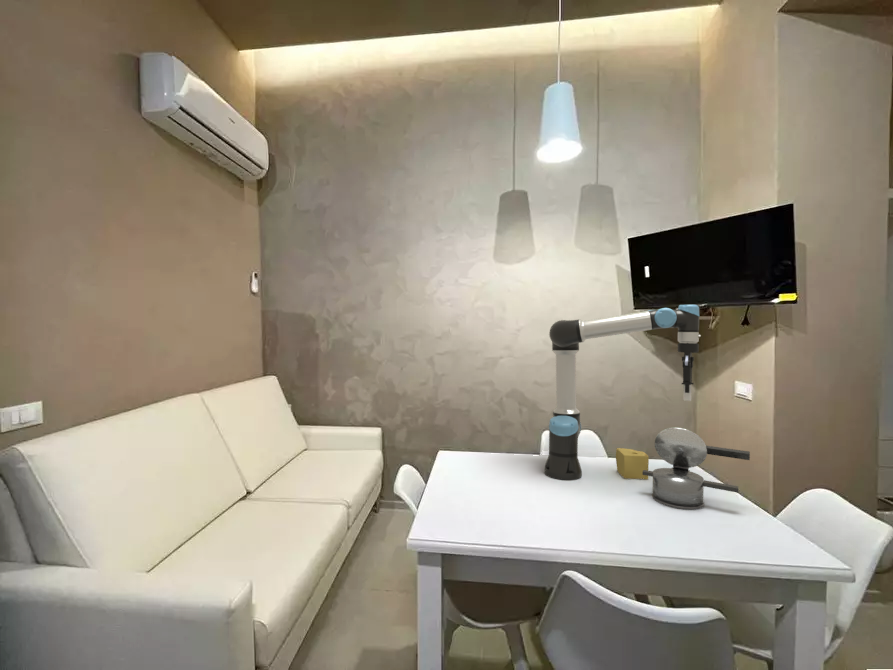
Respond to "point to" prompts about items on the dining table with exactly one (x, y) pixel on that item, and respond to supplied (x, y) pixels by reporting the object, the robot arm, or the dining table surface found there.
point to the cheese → (631, 463)
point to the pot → (681, 488)
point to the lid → (689, 448)
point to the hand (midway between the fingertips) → (687, 400)
